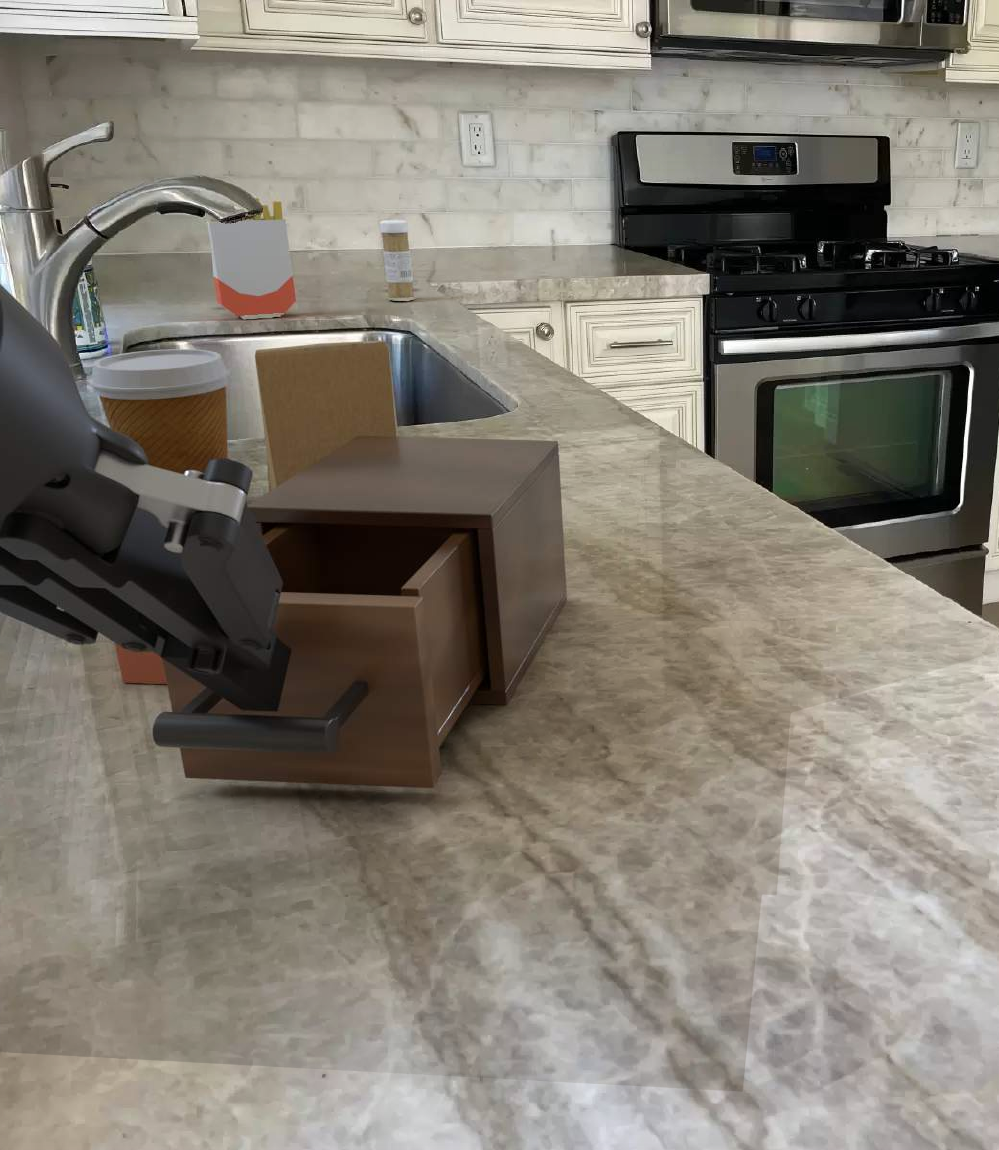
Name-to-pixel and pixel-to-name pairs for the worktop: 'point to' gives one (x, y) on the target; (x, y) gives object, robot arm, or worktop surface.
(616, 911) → the worktop surface
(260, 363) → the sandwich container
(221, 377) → the disposable coffee cup
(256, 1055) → the worktop surface
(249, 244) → the french fries container
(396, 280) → the sprinkles bottle
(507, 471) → the cabinet
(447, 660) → the drawer
